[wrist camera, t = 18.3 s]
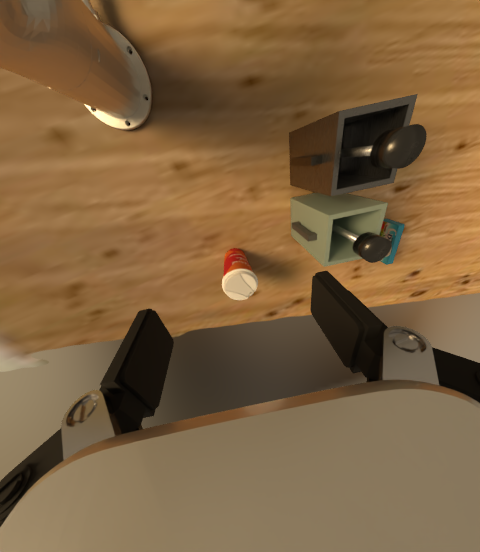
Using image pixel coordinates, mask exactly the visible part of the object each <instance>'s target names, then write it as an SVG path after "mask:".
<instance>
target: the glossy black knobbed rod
mask: <svg viewBox="0 0 480 552" xmlns="http://www.w3.org/2000/svg"><path fill="white" fill-rule="evenodd" d="M332 230H333V231H335V232H337V233H339V234H340V235H342V236H344V237H346V238H347V239H349V240H351V241H353V242H354V243H353V252H354V253H355V254H357V255H359V256H360V257H362V258H363V259H365V260H366V261H368V262H371V263H373V262H377V261H380V260H382V259H383V258H384V257H385V256H386V255H387V254H388V253H389V252H390V250H391V246H392V244H391V241H390V240H389V239H386V238H384V237H382V236H380V235H377V234H375V233H373V232H366V233H363V234H361V235H360V236H357V235H355V234H353V233H351V232H349V231H347V230H345V229H343V228H341V227H339V226H338V225H336V224H334V223H333V225H332Z"/></svg>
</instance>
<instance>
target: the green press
mask: <svg viewBox="0 0 480 552" xmlns="http://www.w3.org/2000/svg"><path fill="white" fill-rule="evenodd" d="M387 205H388V203H386V202H382V201H377V200H373V199H369V198H364V197H360V196H355V195H351V194H346V193H344V194H340V195H335V196H328V195H324V194H321V193H317V192H316V193H312V194H307V195H303V196H298V197H293V198H291V236H292V237H293V238H294V239H295V240H296V241H297V242H299V243H300V244H301V245H302V246H303V247H304V248H305V249H306V250H307V251H308V252H309V253H310V254H311V255H312V256H313V257H314V258H315V259H316V260H317V261H318V262H319V263H321V264H322V265H323V266H324V267H325V266H330V265H334V264H339V263H344V262H348V261H353V260H357V259H362V257H360V256H359V255H357V254H355V253H354V252H353V243H354V242H353V241H351V240H349V239H347V238H346V237H344V236H342V235H340V234H339V233H337V232H335V231H333V230H332V225H333V223H334V224H336V225H338V226H339V227H341V228H343V229H345V230H347V231H349V232H351V233H353V234H355V235H357V236H360V235H361V234H363V233H366V232H373V233H375V234H377V235H379V234H380V231H381V227H382V223H383V220H384V216H385V212H386V209H387Z"/></svg>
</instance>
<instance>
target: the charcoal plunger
mask: <svg viewBox="0 0 480 552" xmlns="http://www.w3.org/2000/svg"><path fill="white" fill-rule="evenodd" d="M425 142H426V131H425V128H424V127H423V126H421V125H419V124H415V125H410V126H405V127H400V128H395V129H390V130H387V131H385V132H384V133H382V134H381V135H380V136H379V137H378V138H377V140H376V141H375V143H374V144H373V145H372V146H364V147H356V148H347V149H341V154H340V158H342V157H361V156H370V161H371V164H372V165H373V166H374V167H376V168H404V167H406V166H408V165H410V164H411V163H412V162H413V161H414V160H415V159H416V158H417V157H418V156H419V154H420V153H421V151H422V149H423V147H424V145H425Z"/></svg>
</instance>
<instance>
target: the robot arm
mask: <svg viewBox="0 0 480 552" xmlns="http://www.w3.org/2000/svg"><path fill="white" fill-rule="evenodd" d="M131 51H132V54H130V52H131ZM0 68H3V69H6V70H8V71H11V72H14V73H16V74H19V75H21V76H23V77H26V78H28V79H30V80H33V81H35V82H37V83H39V84H41V85H44V86H46V87H48V88H51V89H53V90H55V91H57V92H59V93H61V94H64V95H66V96H68V97H70V98H72V99H75V100H77V101H79V102H81V103H83V104H84V105H85V106H86V108H87V109H88V110H89V111H90V112H91V113H92V114H93V115H94V116H95V117H97V118H98V119H99V120H100V121H102V122H103V123H105V124H107V125H109V126H111V127H113V128H117V129H120V130H132V129H135V128H138V127H139V126H141V125H142V124H143V123H144V122H145V121H146V119H147V118H148V116H149V113H150V110H151V106H152V88H151V83H150V79H149V75H148V73H147V70H146V67H145V65H144V63H143V61H142V59H141V58H140V56H139V54H138V53H137V51H136V50H135V48H134V47H133V46H132V45H131V44H130V42H129V41H128V40H127V39H126V38H125V37H124V36H123V35H122V34H121V33H120V32H119V31H117V30H115V29H114V28H112V27H111V26H109V25H107V24H104V23H102V22H101V21H100V19H99V16H98V14H97V12H96V11H95V10H94V9H93V8H92V5H91V3H90V0H0ZM147 97H148V101H147V100H146V98H147ZM95 109H96V111H95ZM129 123H130V126H129ZM311 313H312V315H313V317H314V318H315V320H316V322H317V323H318V325H319V326H320V328H321V329H322V331H323V333H324V334H325V336H326V337H327V339H328V340H329V342H330V343H331V345H332V347H333V348H334V350H335V351H336V353H337V354H338V356H339V358H340V359H341V361H342V362H343V364H344V365H345V366H346V367H349V368H350V370H351V371H352V372H353V373H357V372H362V373H363V374H364V376H365V377H367V381H366V383H360V384H355V385H350V386H344V387H339V388H333V389H328V390H323V391H319V392H314V393H309V394H304V395H299V396H294V397H290V398H285V399H280V400H275V401H270V402H266V403H261V404H256V405H251V406H247V407H242V408H237V409H233V410H229V411H223V412H218V413H214V414H209V415H205V416H200V417H196V418H191V419H186V420H182V421H177V422H173V423H168V424H163V425H159V426H154V427H150V428H146V429H143V427H142V425H141V422H142V419H143V418H145V417H150V416H154V413H155V409H156V408H157V407H158V406H159V402H160V398H161V394H162V390H163V386H164V381H165V378H166V374H167V369H168V365H169V361H170V357H171V353H172V349H173V343H174V342H173V339H172V337H171V335H170V334H169V332H168V330H167V329H166V327H165V326H164V324H163V322H162V321H161V319H160V318H159V316H158V314H157V313H156V311H154V310H152V309H146V310H141V311H139V312H138V314H137V316H136V318H135V319H134V321H133V323H132V325H131V327H130V329H129V331H128V333H127V335H126V336H125V338H124V340H123V342H122V344H121V346H120V348H119V350H118V351H117V353H116V355H115V357H114V359H113V361H112V363H111V365H110V367H109V368H108V371H107V372H106V374H105V376H104V378H103V380H102V382H101V388H100V390H92V391H90V392H87V393H85V394H84V395H82V396H81V397H80V398H78V399H77V400H76V401H75V402H74V403H73V404H72V405H71V406H70V408H69V409H68V411H67V412H66V414H65V415H64V418H63V420H62V425H61V429H60V430H58V431H57V432H56V433H55V434H54V435H53V436H51V437H50V438H49V439H48V440H47V441H46V442H44V443H43V444H42V445H41V446H40V447H39V448H37V449H36V450H35V451H34V452H33V453H32V454H30V455H29V456H28V457H27V458H26V459H25V460H24V461H22V462H21V463H20V464H19V465H18V466H16V467H15V468H14V469H13V470H12V471H11V472H9V473H8V474H7V475H6V476H5V477H4V478H3V479H2V480H1V482H0V552H480V363H477V362H475V361H472V360H468V359H466V358H463V357H460V356H456V355H453V354H451V353H448V352H444V351H441V350H439V349H435V348H432V347H431V344H430V342H429V341H428V340H427V339H426V338H425V337H424V336H423V335H421V334H420V333H418V332H416V331H414V330H412V329H409V328H406V327H401V326H392V327H389V328H388V327H387V326H386V325H385V324H384V323H382V322H381V321H380V320H379V319H378V318H377V317H376V316H375V315H374V314H373V313H372V312H371V311H370V310H369V309H368V308H367V307H366V306H365V305H364V304H363V303H362V302H361V301H360V300H358V299H357V298H356V297H355V296H354V295H353V294H352V293H351V292H350V291H348V290H347V289H346V288H345V287H343V286H342V285H341V284H340V283H339V282H338V281H337V280H336V279H335V278H334V277H333V276H332V275H331V274H330V273H329V272H328V271H323V272H318V273H316V274H315V276H313V279H312V295H311Z"/></svg>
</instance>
